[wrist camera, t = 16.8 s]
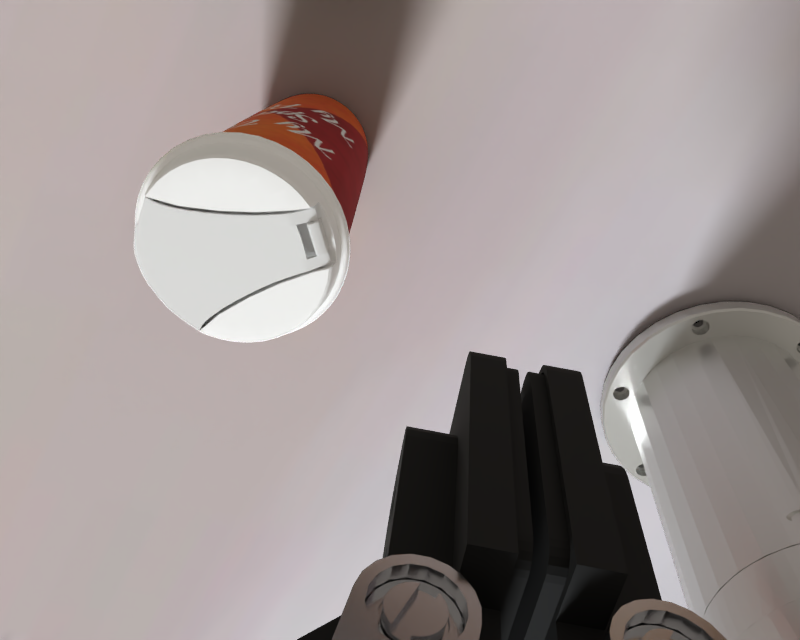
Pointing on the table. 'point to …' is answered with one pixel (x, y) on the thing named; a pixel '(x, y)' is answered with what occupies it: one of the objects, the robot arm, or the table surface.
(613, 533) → the robot arm
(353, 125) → the paper cup
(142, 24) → the table surface
